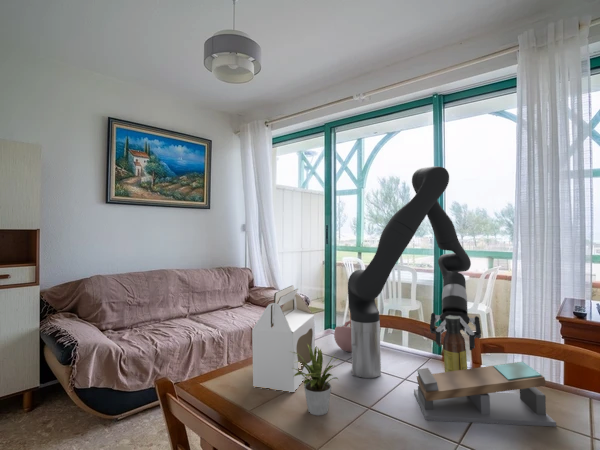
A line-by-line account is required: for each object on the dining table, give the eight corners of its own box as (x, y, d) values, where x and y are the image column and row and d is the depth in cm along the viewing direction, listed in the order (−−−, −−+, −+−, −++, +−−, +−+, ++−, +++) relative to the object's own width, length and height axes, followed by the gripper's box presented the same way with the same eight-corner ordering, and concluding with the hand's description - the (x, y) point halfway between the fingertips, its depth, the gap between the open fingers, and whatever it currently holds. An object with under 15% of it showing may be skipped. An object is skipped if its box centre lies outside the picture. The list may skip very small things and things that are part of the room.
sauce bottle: (463, 379, 104) (461, 314, 104) (471, 388, 98) (469, 319, 98) (441, 379, 105) (439, 314, 105) (448, 388, 98) (446, 319, 99)
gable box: (293, 393, 97) (291, 295, 98) (252, 388, 101) (250, 294, 102) (315, 364, 118) (313, 284, 119) (280, 361, 122) (279, 283, 123)
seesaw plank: (426, 401, 84) (423, 385, 84) (417, 383, 94) (414, 369, 94) (546, 385, 81) (542, 368, 81) (524, 368, 90) (520, 354, 91)
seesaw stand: (425, 420, 82) (425, 396, 82) (414, 392, 96) (413, 372, 96) (556, 426, 78) (555, 401, 78) (524, 397, 92) (523, 376, 92)
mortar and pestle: (369, 347, 134) (368, 318, 134) (361, 358, 123) (360, 326, 123) (339, 344, 139) (339, 316, 139) (330, 354, 128) (329, 323, 128)
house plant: (279, 401, 93) (278, 341, 93) (324, 391, 98) (323, 334, 98) (300, 429, 79) (299, 358, 80) (351, 415, 85) (349, 349, 85)
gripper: (430, 293, 112) (428, 338, 101) (479, 295, 106) (482, 343, 95) (432, 306, 117) (430, 350, 106) (478, 309, 111) (481, 356, 100)
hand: (455, 347), depth 101 cm, fingers open, 8 cm apart
